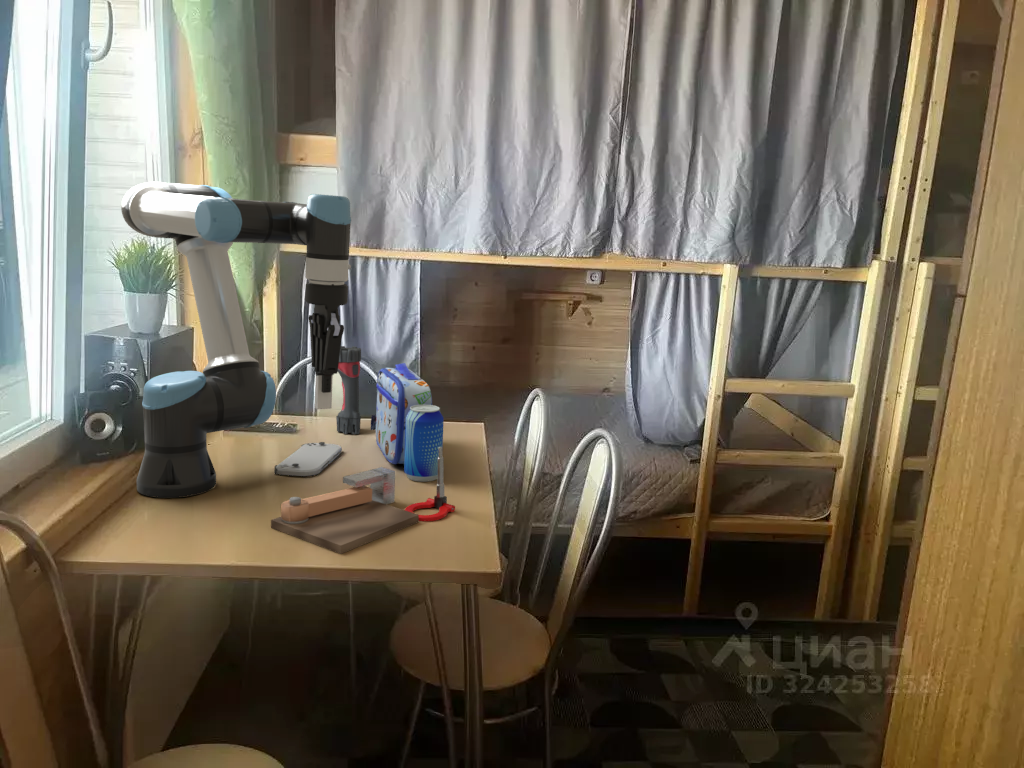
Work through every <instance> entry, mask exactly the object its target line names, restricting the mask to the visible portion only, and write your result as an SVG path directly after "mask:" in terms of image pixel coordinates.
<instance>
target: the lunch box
mask: <svg viewBox="0 0 1024 768" xmlns="http://www.w3.org/2000/svg"><path fill="white" fill-rule="evenodd" d="M394 366H395V367H384V368H381V369H380V370H379V371H378V374H377V378H376V385H375V386H376V413H375V414H373V415H371V416H370V417H371V418H370V431H375V442H376V445H377V446H378V448H379V449H380V451H381V453H382V455H383V456H384V458H385V459H386V461H388V462H389V463H390V464H393V465H397V464H401V465H404V459H405V422H406V416H407V414H408V413H409V411H410V407H411V406H414V405H433V397H432V391H431V387H430V385H429V384H428V383H427V382H426V381H425V380H424V379H422V378H421V377H420V376H419V375H418V374H416V372H414V371H413V370H411V369H410V368H408V366H407V364H406V362H403V363H398V364H395V365H394Z"/></svg>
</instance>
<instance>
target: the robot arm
mask: <svg viewBox="0 0 1024 768" xmlns="http://www.w3.org/2000/svg"><path fill="white" fill-rule="evenodd" d="M120 206H121V207H120V208H121V214H122V215H121V216H122V218H123V219H124V221H125V223H126V225H128V226H129V227H130V228H131V229H132V230H133V231H135V232H136V233H138V234H141V235H143V236H147V237H149V238H150V237H151V238H157V239H172V240H175V244H176V250H177V251H178V252H179V253H181V254H182V255H183V256H185V257H186V261H187V268H188V270H189V275H190V276H189V277H190V280H191V284H192V289H193V296H194V299H195V305H196V309H197V313H198V314H197V315H198V318H199V324H200V329H201V332H202V333H201V334H202V337H203V343H204V348H205V351H206V357H207V361H208V362H207V364H206V366H205V367H204V368H203V369H202V372H201V371H199V370H185V371H181V370H179V371H172V372H167V373H163V374H160V375H157V376H153V377H152V378H150V379H149V380H147V381H146V383H145V384H144V386H143V393H142V394H143V395H142V402H141V405H142V409H143V412H142V413H143V414H142V415H143V431H144V432H143V433H144V454H143V458H142V461H141V464H140V468H139V471H138V475H137V476H136V490H137V492H138V493H139V494H141V495H143V496H146V497H152V498H162V499H163V498H165V499H168V498H169V499H172V498H174V499H175V498H184V497H191V496H196V495H200V494H203V493H206V492H209V491H211V490H212V489H214V488H215V487H216V486H217V471H216V469H215V466H214V465H213V464H214V463H212V458H211V457H210V455H209V451H208V447H207V446H208V445H207V434H208V433H209V434H210V433H215V432H222V431H228V430H234V429H235V430H236V429H240V428H241V429H242V428H244V429H247V428H250V427H253V426H258V425H262V424H264V423H265V422H267V421H268V420H269V419H270V418H271V416H272V414H273V411H274V409H275V407H276V404H277V403H276V402H277V389H276V384H275V380H274V378H273V377H271V374H270V373H269V372H267V371H264V370H261V367H260V363H259V360H258V359H256V358H254V357H252V356H251V355H250V351H249V346H248V345H249V344H248V341H247V337H246V331H245V326H244V322H243V317H242V312H241V308H240V304H239V299H238V298H239V297H238V293H237V290H236V284H235V280H234V275H233V271H232V270H233V269H232V267H231V262H230V257H229V252H228V251H229V249H230V248H231V247H232V246H233V244H234V243H243V244H244V243H245V244H246V243H248V244H249V243H253V244H254V243H256V244H277V245H278V244H280V245H282V244H283V245H299V246H300V245H301V246H305V247H306V256H305V274H304V275H305V276H304V277H305V279H306V280H307V282H306V283H305V290H304V291H305V295H304V297H305V298H304V301H305V302H306V303H307V304H310V305H314V306H313V312H312V314H309V315H308V323H309V331H310V350H311V351H310V355H311V367H312V368H314V373H315V374H314V375H315V392H314V393H315V394H314V395H315V396H314V408H315V409H316V410H328V409H330V410H331V409H332V407H333V406H332V401H333V380H334V379H333V378H334V377H333V376H334V375H335V374H336V375H337V374H338V364H339V356H340V348H341V346H342V339H343V335H344V332H345V326H344V324H340V323H341V322H340V321H341V318H340V317H341V316H340V314H339V307H340V306H345V305H347V303H348V298H349V296H348V295H349V285H348V284H346V283H345V282H348V281H349V270H351V268H352V265H351V264H350V263H349V262H350V261H349V260H350V245H351V242H350V241H351V223H352V217H351V201H350V199H349V198H348V197H346V196H344V195H333V194H332V195H331V194H330V195H329V194H319V193H318V194H317V193H311V194H310V195H308V198H307V204H306V203H305V204H304V203H299V202H294V201H271V200H268V201H267V200H254V199H253V200H251V199H242V198H240V199H239V198H233V196H232V195H231V194H230V193H229V192H227V191H226V190H225V189H223V188H221V187H217V186H210V185H207V184H199V185H198V184H186V183H175V182H163V181H149V182H147V181H146V182H143V183H139V184H137V185H134V186H132V187H131V188H129V190H127V191H126V193H125V194H124V196H123V198H122V199H121V205H120Z"/></svg>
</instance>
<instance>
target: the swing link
mask: <svg viewBox="0 0 1024 768" xmlns="http://www.w3.org/2000/svg"><path fill="white" fill-rule="evenodd" d="M371 501H372V489H371V488H370V486H369V487H368V486H367V485H364V486H360V487H357V488H356V487H353V486H352V487H348V488H345V489H340V490H336V491H332V492H327V493H323V494H319V495H318V494H317V495H314V496H310V497H306V498H301V497H299V496H292V497H289V499H288V500H284V501H283V502H282V503H280V517H282V519H283V520H285V521H289V522H290V521H291V522H296V521H302V520H305V519H307V518H308V517H310V516H314V515H318V514H322V513H326V512H330V511H334V510H338V509H342V508H346V507H351V506H355V505H359V504H363V503H367V502H371Z"/></svg>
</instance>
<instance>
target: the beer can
mask: <svg viewBox="0 0 1024 768" xmlns="http://www.w3.org/2000/svg"><path fill="white" fill-rule="evenodd" d="M444 421H445V420H444V416H443V414H442V413H441V407H439V406H437V405H433V404H432V405H414V406H411V407H410V411H409V413H408V414H407V416H406V422H405V459H404V464H403V466H404V468H403V469H404V470H403V472H404V474H405V475H406V477H407V478H408V479H409V480H411V481H414V482H421V483H422V482H424V483H425V482H432V481H435V480H438V463H437V458H438V457H439V447H442V451H443V447H444V446H443V444H444Z"/></svg>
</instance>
